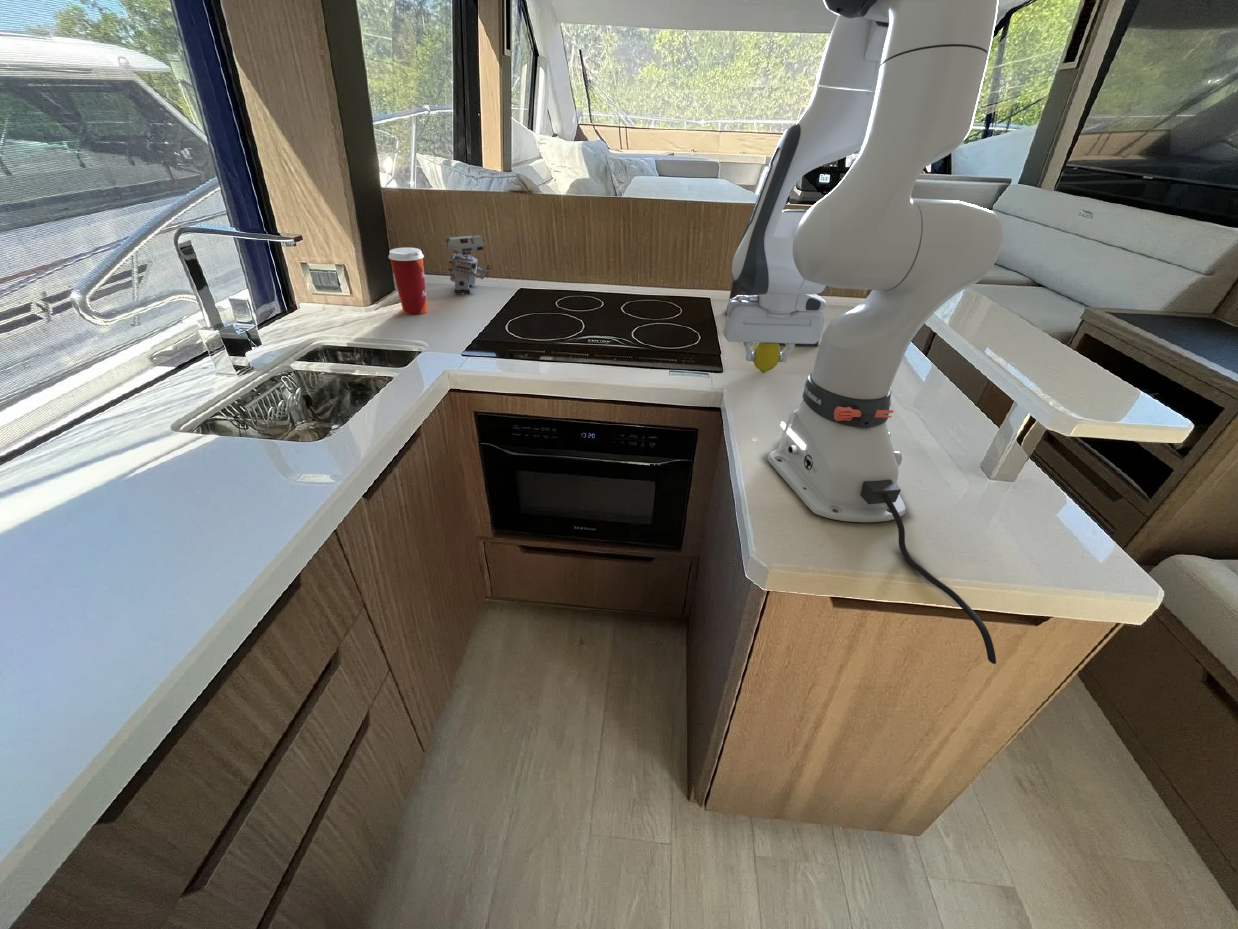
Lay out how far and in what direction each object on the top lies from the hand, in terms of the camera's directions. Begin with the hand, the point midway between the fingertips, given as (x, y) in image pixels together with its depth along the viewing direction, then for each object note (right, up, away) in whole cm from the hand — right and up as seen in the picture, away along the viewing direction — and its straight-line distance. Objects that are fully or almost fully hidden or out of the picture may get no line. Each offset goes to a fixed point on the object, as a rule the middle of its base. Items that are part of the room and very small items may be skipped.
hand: (765, 360), depth 113 cm
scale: (+11, +12, +23) cm, 28 cm away
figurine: (-75, +29, +40) cm, 90 cm away
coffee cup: (-85, +17, +23) cm, 90 cm away
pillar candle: (+3, +19, +34) cm, 39 cm away
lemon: (0, -2, +2) cm, 3 cm away
